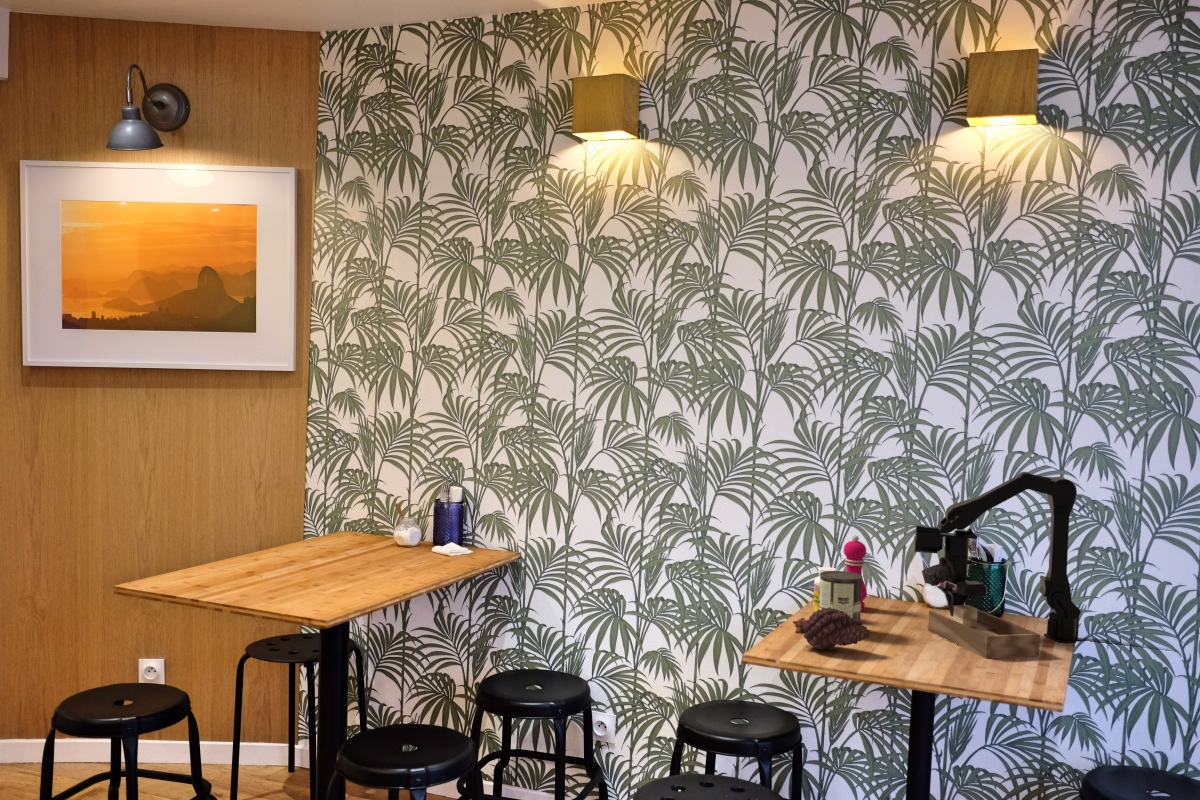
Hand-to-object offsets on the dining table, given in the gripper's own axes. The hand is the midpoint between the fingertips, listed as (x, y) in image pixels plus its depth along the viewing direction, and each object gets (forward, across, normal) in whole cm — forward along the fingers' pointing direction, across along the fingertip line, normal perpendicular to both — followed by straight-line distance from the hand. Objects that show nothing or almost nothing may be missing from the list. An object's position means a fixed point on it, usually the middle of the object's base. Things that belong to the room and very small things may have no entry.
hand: (953, 616), depth 265 cm
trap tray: (+4, +12, 0) cm, 12 cm away
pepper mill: (+4, -24, -15) cm, 29 cm away
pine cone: (+4, +12, -40) cm, 42 cm away
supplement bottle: (+4, -16, -27) cm, 32 cm away
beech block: (+1, +5, 0) cm, 5 cm away
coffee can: (+4, -3, -30) cm, 30 cm away
